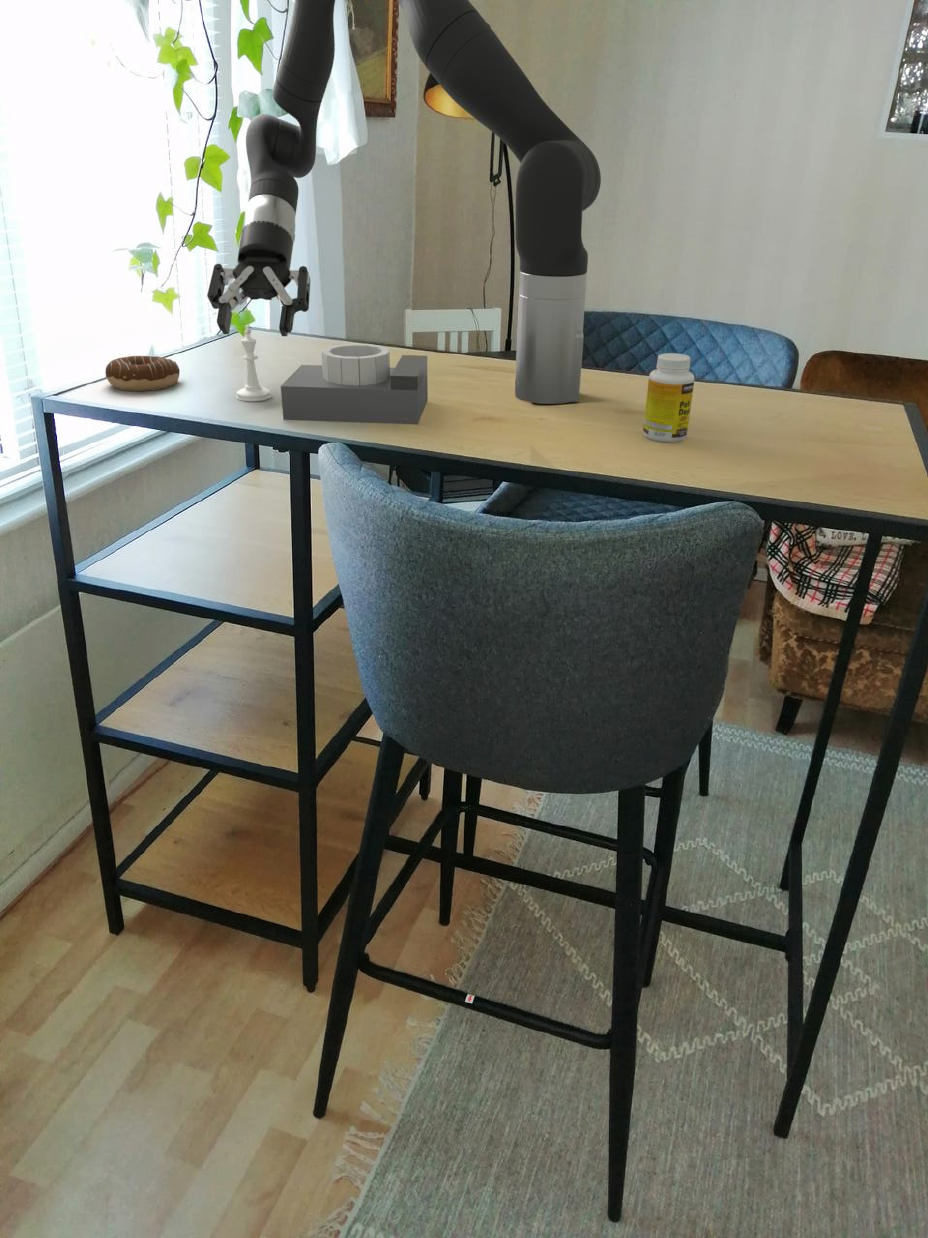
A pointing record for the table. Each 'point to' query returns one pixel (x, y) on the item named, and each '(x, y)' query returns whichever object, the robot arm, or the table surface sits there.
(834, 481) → the table surface
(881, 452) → the table surface
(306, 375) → the camera body
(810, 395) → the table surface
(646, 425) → the supplement bottle
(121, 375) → the donut
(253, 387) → the chess piece
